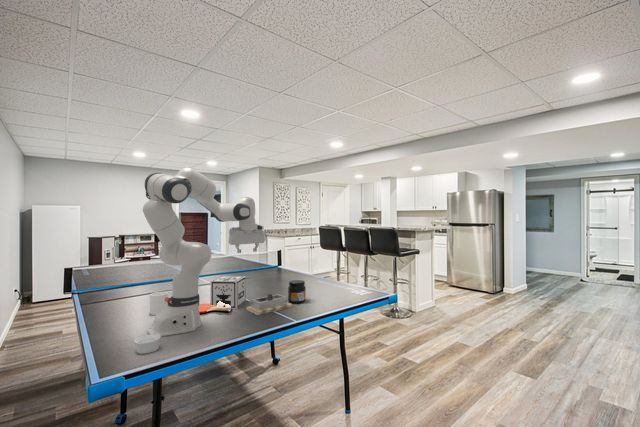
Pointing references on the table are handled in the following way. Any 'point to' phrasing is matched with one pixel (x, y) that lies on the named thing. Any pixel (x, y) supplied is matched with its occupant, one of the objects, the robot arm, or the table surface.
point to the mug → (157, 302)
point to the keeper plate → (269, 297)
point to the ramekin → (147, 343)
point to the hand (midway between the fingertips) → (247, 252)
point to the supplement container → (296, 292)
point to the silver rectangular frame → (268, 302)
